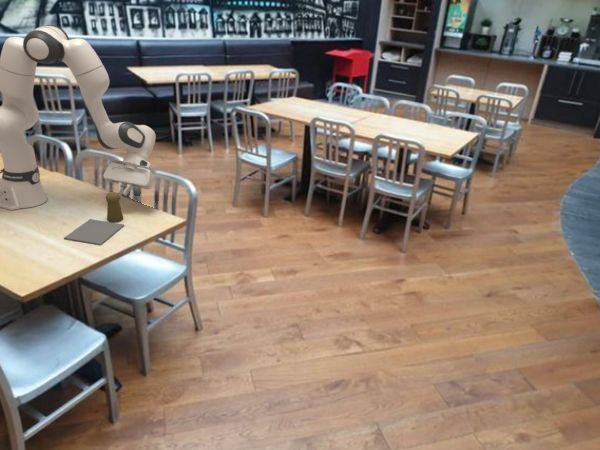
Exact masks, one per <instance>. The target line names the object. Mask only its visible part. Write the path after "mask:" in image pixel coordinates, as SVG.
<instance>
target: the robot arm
mask: <svg viewBox="0 0 600 450" xmlns="http://www.w3.org/2000/svg"><path fill="white" fill-rule="evenodd" d="M61 62H63V63H64V64H65V65H66V66H67V67H68V68H69V70H70V71H71V74H72V76H73V77H74V79H75V81H76V83H77V85H78V88H79V90H80V97H81V99H82V102H83V104H84V106H85V109H86V111H87V113H88V115H89V117H90V119H91V121H92V124H93V126H94V128H95V132H96V139H97V140H98V143H99V144H100V145H101V146H102V147H103V148H104V149H107V150H110V151H111V150H116V149H120V148H125V150H126V152H125V154H124V158H123V159H122V161H121V160H117V159H115V160H112V161H110V162H109V165H108V166H107V168H106V169H105V171H104V173H103V175H102V177H103V179H104V180H105V181H106V182H108V183H109V182H110V183H113V184H118V191H117V193H118V194H119V195H120V196H126V197H127V195H128V194H129V192H131V190H133V187H135V188H139V189H144V190H150V189H152V187H153V185H154V182H155V178H156V177H155V175H156V173H157V169H156V168H155V167H154V165H153V164H151V163H150V162H149V158H150V157H149V156H150V155H151V154H152V152H153V150H154V146H155V144H156V136H157V135H156V133H155V130H153V129H152V128H151V127H149V126H148V125H146V124H134V123H132V122H130V121H123V122H122V121H121V122H116V123H113V122H112V121H111V120H110V119H109V116H108V114H107V111H106V109H105V108H104V107H105V106H104V104H103V101H102V100H103V99H102V98H103V95H104V94H105V93H106V91H108V88H109V86H110V77H109V74H108V72H107V70H106V68H105V65H104V64H103V63H102V61H101V59H100V57H99V55H98V54H97V53H96V50H94V48H93V47H92V46H91V44H90V42H88V41H87V40H86V39H83V38H80V37H79V38H78V37H77V38H72V39H70V37H69V36H68V34H67V32H66V31H65V30H64V29H62V28H61V27H60V26H57V25H52V24H47V25H43V26H39V27H36V28H35V29H33V30H31V31H30V32H28V33H27V34H26V35H25V37H24V38H23V37H19V36H10V37H7V39H5V41H4V44H3V46H2V49H1V52H0V92H1V95H2V99H3V102H2V104H1V105H0V155H1V159H2V164H3V168H2V169H0V174H2V175H1V177H0V208H2V209H6V210H9V211H15V210H19V209H26V208H33V207H38V206H40V205H43V204H44V203H46V202H47V200H48V197H47V195H46V193H45V191H44V188H43V185H42V182H41V179H40V178H41V177H40V169H39V166H37V165H38V164H37V160H36V155H35V149H34V147H33V146H32V145H31V144H29V143H28V141H26V138H25V136H24V132H25V131H27V130H30V129H31V128H32V127H34V125H35V124H36V123H37V122H38V121H39V117H40V112H39V110H38V108H37V107H36V106H35V101H34V87H35V80H36V70H37V65H38V63H39V64H60V63H61ZM125 186H126V187H125ZM124 187H125V188H124Z"/></svg>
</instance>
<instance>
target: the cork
mask: <svg viewBox="0 0 600 450" xmlns="http://www.w3.org/2000/svg"><path fill="white" fill-rule="evenodd" d="M120 200H121V195H120V194H118V192H115V191H112V192H111V191H110V192H108V193H107V194H105V201H106V203H107V206H106V207H107V208H106V209H107V210H106V222H111V223H120V222H122V221H124V216H123V211H122V208H121V203H120Z"/></svg>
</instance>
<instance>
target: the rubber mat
mask: <svg viewBox="0 0 600 450" xmlns="http://www.w3.org/2000/svg"><path fill="white" fill-rule="evenodd" d="M124 227H125V224H122V223H119V222H117V223H111V222H108V221H105V220H98V219H93V218H92V219H91V218H89V219H88V220H87V221H85V222H84V223H82V224H81V225H80V226H78V227H77V228H75V229H74V230H73V231H72V232H70V233H68V234H67V235H66V236H64V237H63V239H64V240H66V241H67V240H68V241H72V242H77V243H78V242H79V243H82V244H83V243H84V244H90V245H95V246H103V244H104V243H106V242H107V241H108V240H109V239H110V238H112V237H113V236H114V235H115V234H116V233H117V232H119V231H120V230H121V229H123V228H124Z"/></svg>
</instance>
